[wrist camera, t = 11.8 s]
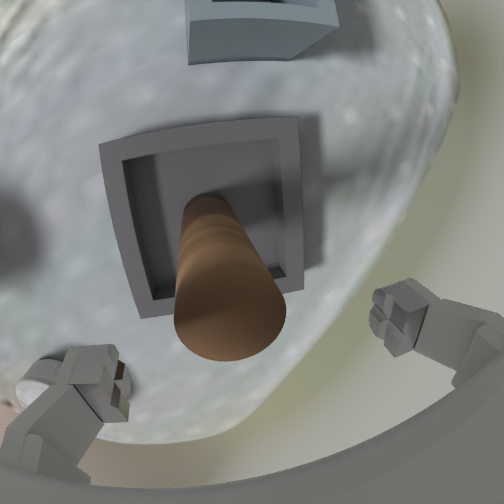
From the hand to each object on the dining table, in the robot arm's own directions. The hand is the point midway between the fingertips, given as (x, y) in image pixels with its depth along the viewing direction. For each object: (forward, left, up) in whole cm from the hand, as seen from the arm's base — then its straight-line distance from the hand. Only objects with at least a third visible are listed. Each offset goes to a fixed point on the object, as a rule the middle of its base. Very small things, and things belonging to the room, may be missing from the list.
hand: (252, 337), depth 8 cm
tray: (+1, 0, -17) cm, 17 cm away
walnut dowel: (+1, 0, -16) cm, 16 cm away
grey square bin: (-16, +4, -17) cm, 24 cm away
